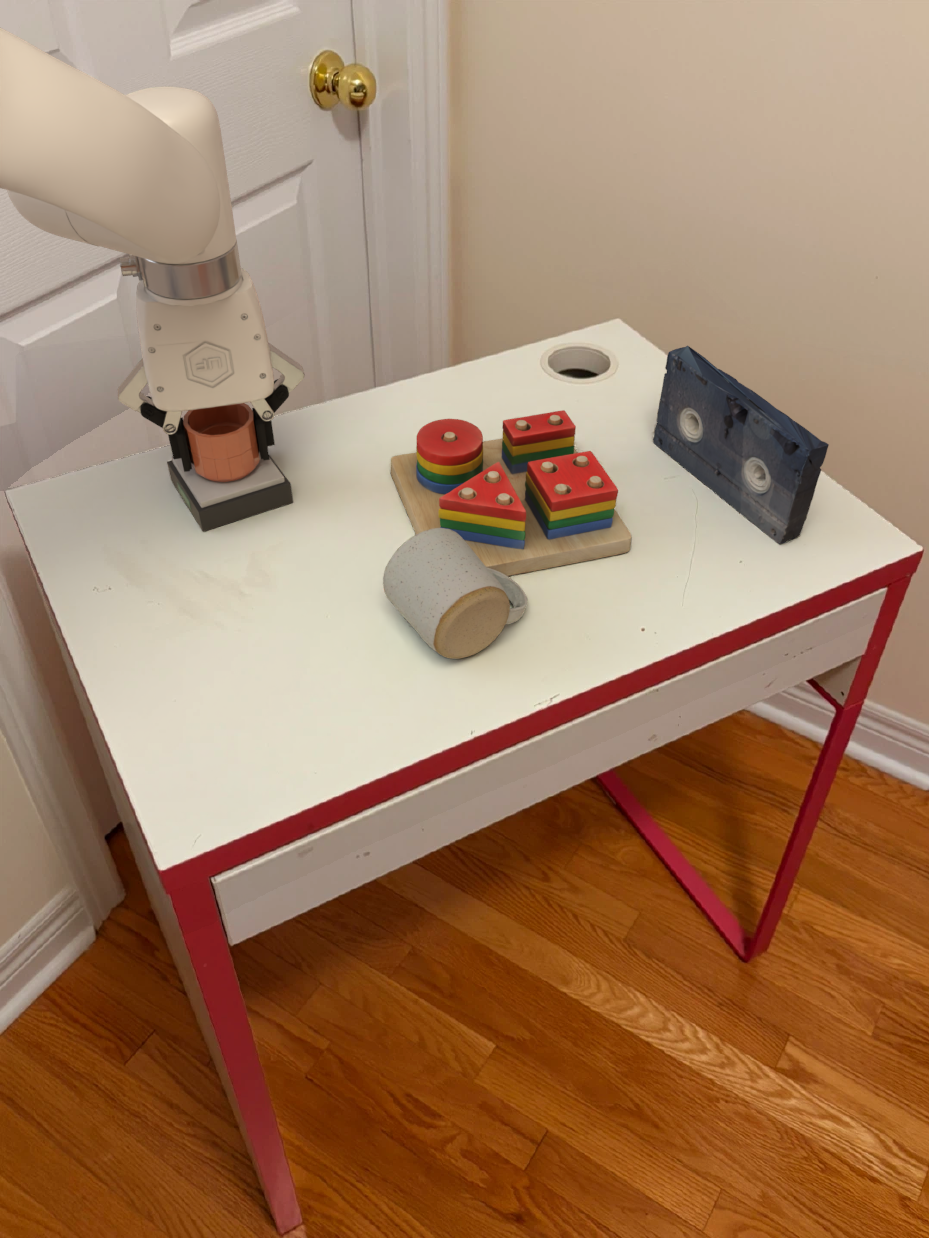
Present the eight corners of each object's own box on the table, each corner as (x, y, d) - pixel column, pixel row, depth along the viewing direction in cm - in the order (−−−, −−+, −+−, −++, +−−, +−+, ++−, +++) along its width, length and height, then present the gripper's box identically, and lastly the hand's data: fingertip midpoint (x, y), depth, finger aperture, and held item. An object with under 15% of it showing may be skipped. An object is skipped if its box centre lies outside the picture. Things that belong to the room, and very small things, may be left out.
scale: (202, 532, 92) (197, 507, 90) (170, 481, 98) (164, 456, 96) (293, 502, 95) (290, 477, 93) (257, 454, 101) (253, 430, 99)
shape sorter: (631, 553, 91) (641, 497, 87) (439, 591, 87) (438, 534, 83) (560, 441, 103) (565, 387, 99) (388, 470, 99) (385, 416, 95)
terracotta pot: (181, 478, 93) (171, 431, 89) (210, 441, 97) (201, 394, 94) (244, 489, 92) (236, 442, 88) (270, 451, 96) (264, 404, 92)
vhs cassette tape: (802, 538, 93) (831, 444, 86) (776, 548, 91) (803, 454, 85) (675, 433, 104) (691, 343, 97) (651, 441, 103) (665, 350, 96)
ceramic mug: (436, 680, 80) (437, 606, 74) (382, 617, 85) (379, 543, 79) (548, 628, 84) (556, 555, 79) (490, 571, 89) (494, 499, 84)
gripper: (75, 301, 77) (127, 496, 90) (309, 275, 80) (328, 467, 93) (75, 257, 82) (124, 447, 95) (295, 234, 85) (314, 421, 98)
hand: (225, 455), depth 94 cm, fingers closed on terracotta pot, 6 cm apart
